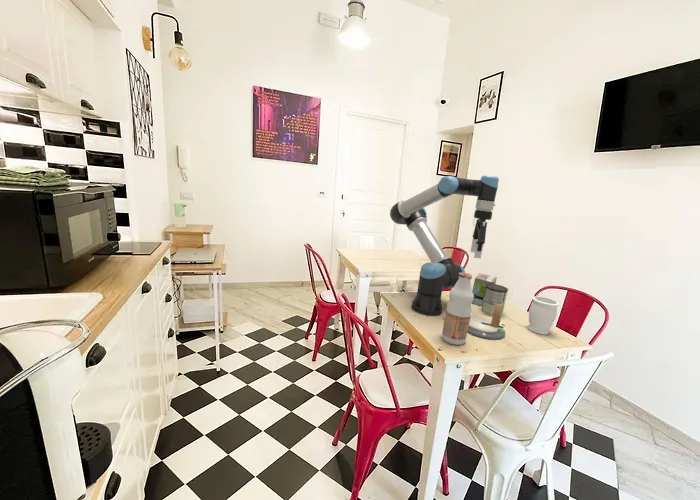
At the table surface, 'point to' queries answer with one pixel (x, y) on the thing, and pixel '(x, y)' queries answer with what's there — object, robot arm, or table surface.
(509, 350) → the table surface
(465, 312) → the fruit juice
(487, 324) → the tuner dial
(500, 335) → the dial base
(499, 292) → the coffee can
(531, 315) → the jar
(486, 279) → the tea box
